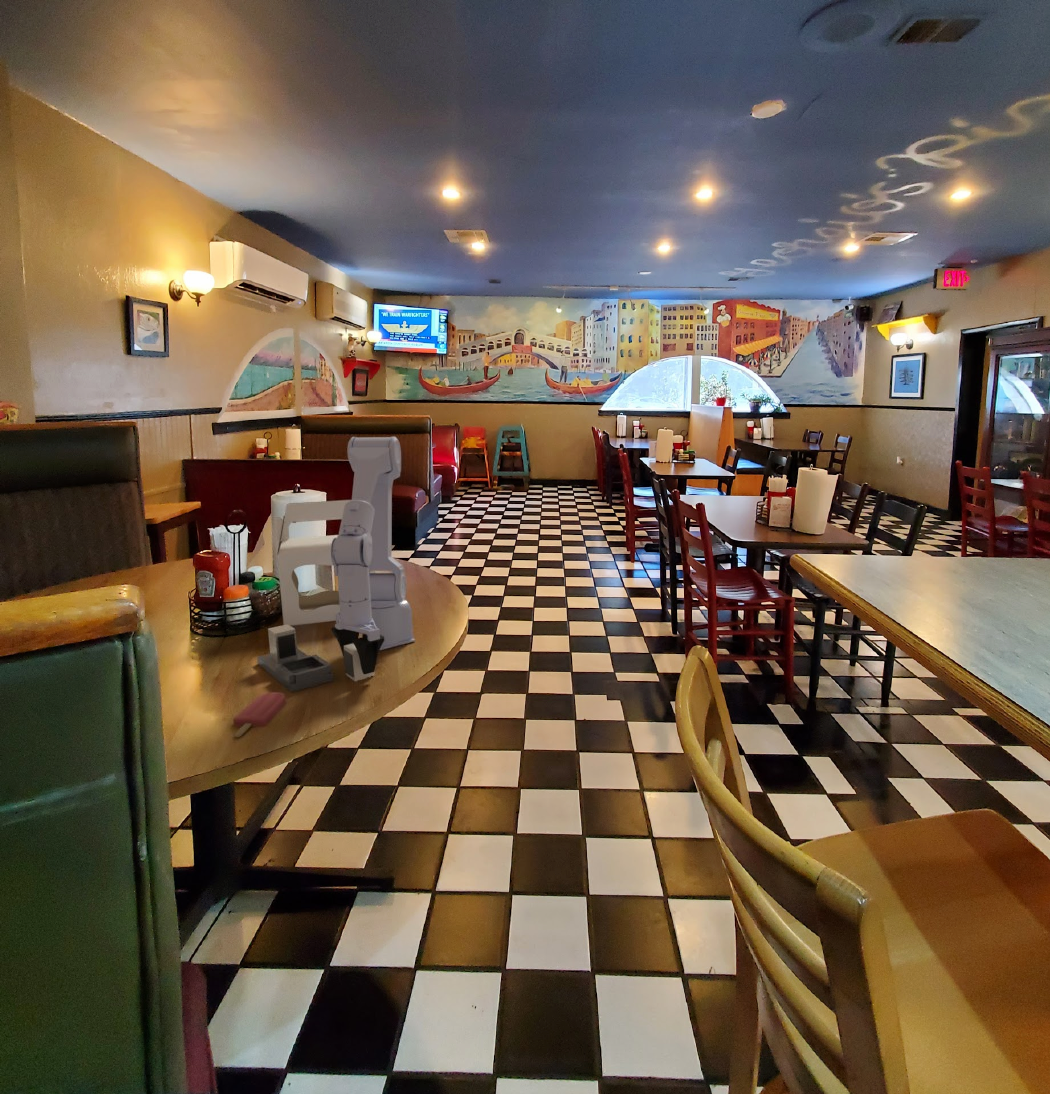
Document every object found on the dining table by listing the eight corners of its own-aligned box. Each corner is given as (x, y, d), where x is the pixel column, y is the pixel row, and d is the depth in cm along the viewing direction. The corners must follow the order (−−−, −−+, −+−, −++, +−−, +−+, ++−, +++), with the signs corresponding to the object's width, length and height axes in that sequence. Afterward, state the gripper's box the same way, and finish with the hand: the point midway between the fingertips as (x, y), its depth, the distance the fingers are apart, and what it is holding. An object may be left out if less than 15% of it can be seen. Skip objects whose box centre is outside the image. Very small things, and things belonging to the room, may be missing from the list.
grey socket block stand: (296, 654, 142) (293, 619, 141) (333, 680, 129) (330, 642, 127) (257, 663, 137) (254, 628, 136) (291, 692, 124) (287, 653, 122)
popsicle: (219, 731, 107) (261, 691, 122) (220, 740, 107) (262, 699, 122) (252, 732, 107) (291, 691, 121) (253, 741, 107) (291, 700, 122)
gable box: (372, 601, 179) (365, 495, 173) (379, 616, 167) (372, 502, 161) (282, 611, 172) (272, 500, 166) (282, 627, 160) (271, 508, 154)
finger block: (365, 669, 134) (363, 640, 133) (374, 675, 131) (372, 646, 130) (344, 675, 131) (342, 646, 130) (353, 682, 128) (351, 651, 127)
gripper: (318, 594, 131) (323, 661, 134) (352, 611, 120) (357, 683, 123) (352, 587, 135) (357, 652, 138) (388, 603, 124) (392, 673, 127)
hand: (359, 666), depth 131 cm, fingers open, 7 cm apart
